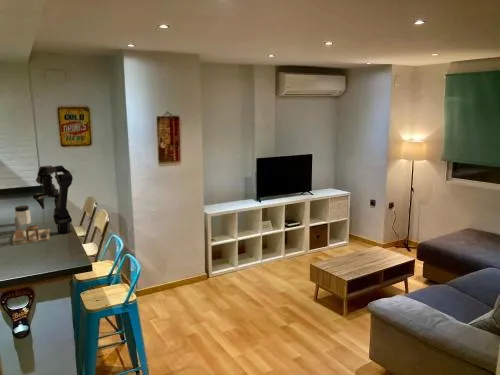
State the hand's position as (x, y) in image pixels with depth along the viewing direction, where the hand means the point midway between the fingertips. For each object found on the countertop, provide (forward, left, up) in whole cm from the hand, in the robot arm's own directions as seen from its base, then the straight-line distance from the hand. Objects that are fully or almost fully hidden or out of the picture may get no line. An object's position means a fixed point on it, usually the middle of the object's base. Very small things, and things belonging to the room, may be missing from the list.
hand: (50, 208), depth 271 cm
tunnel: (-4, +26, -12) cm, 29 cm away
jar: (+28, -12, -13) cm, 33 cm away
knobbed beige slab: (+7, +23, -12) cm, 26 cm away
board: (+1, +20, -13) cm, 24 cm away
